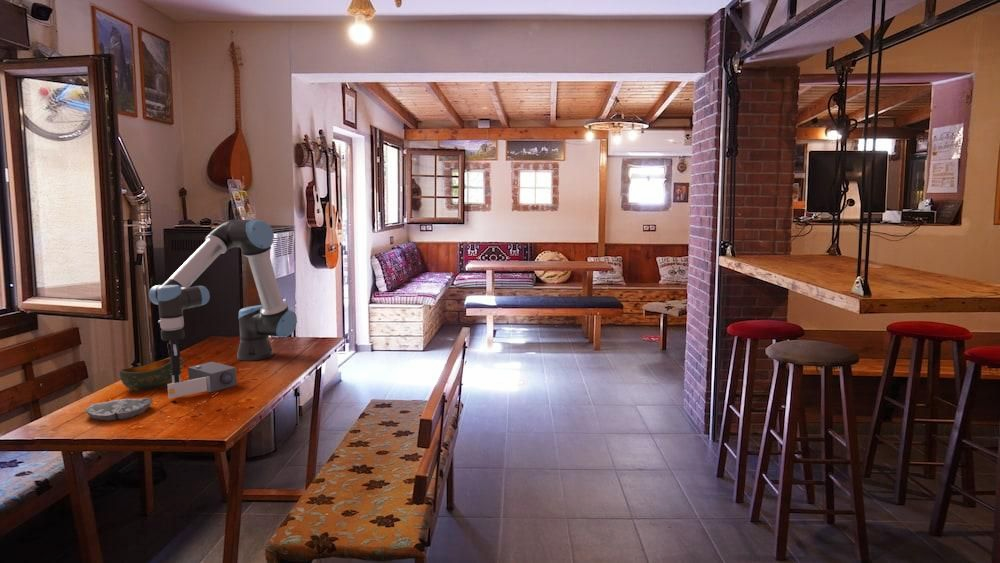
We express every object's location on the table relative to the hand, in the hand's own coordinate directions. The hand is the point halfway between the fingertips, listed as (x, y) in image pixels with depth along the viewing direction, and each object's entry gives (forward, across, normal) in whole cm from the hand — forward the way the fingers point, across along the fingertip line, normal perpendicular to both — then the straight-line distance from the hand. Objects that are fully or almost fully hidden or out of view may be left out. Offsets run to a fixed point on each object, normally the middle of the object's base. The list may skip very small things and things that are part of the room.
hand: (177, 391), depth 229 cm
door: (+2, +2, +4) cm, 5 cm away
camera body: (+2, -9, +13) cm, 16 cm away
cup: (+3, -18, -7) cm, 20 cm away
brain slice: (+3, +10, -18) cm, 21 cm away
